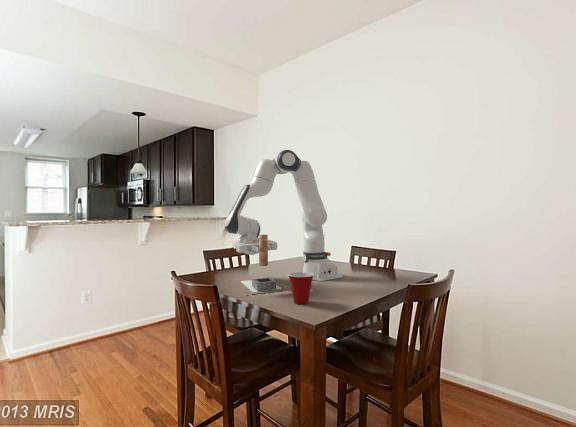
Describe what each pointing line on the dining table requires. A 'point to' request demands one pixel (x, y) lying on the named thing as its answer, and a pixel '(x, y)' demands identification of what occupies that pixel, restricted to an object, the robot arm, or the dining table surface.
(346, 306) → the dining table surface
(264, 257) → the peg
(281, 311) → the dining table surface
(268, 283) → the board
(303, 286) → the plastic cup
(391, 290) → the dining table surface
